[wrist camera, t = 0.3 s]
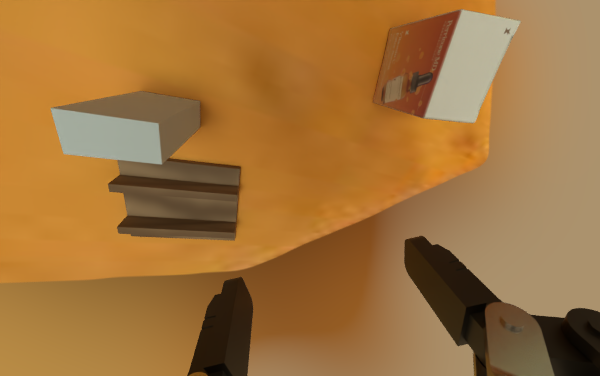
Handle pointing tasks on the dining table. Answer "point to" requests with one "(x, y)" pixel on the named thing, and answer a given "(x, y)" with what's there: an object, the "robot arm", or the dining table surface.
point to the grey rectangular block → (127, 126)
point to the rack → (178, 199)
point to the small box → (443, 64)
